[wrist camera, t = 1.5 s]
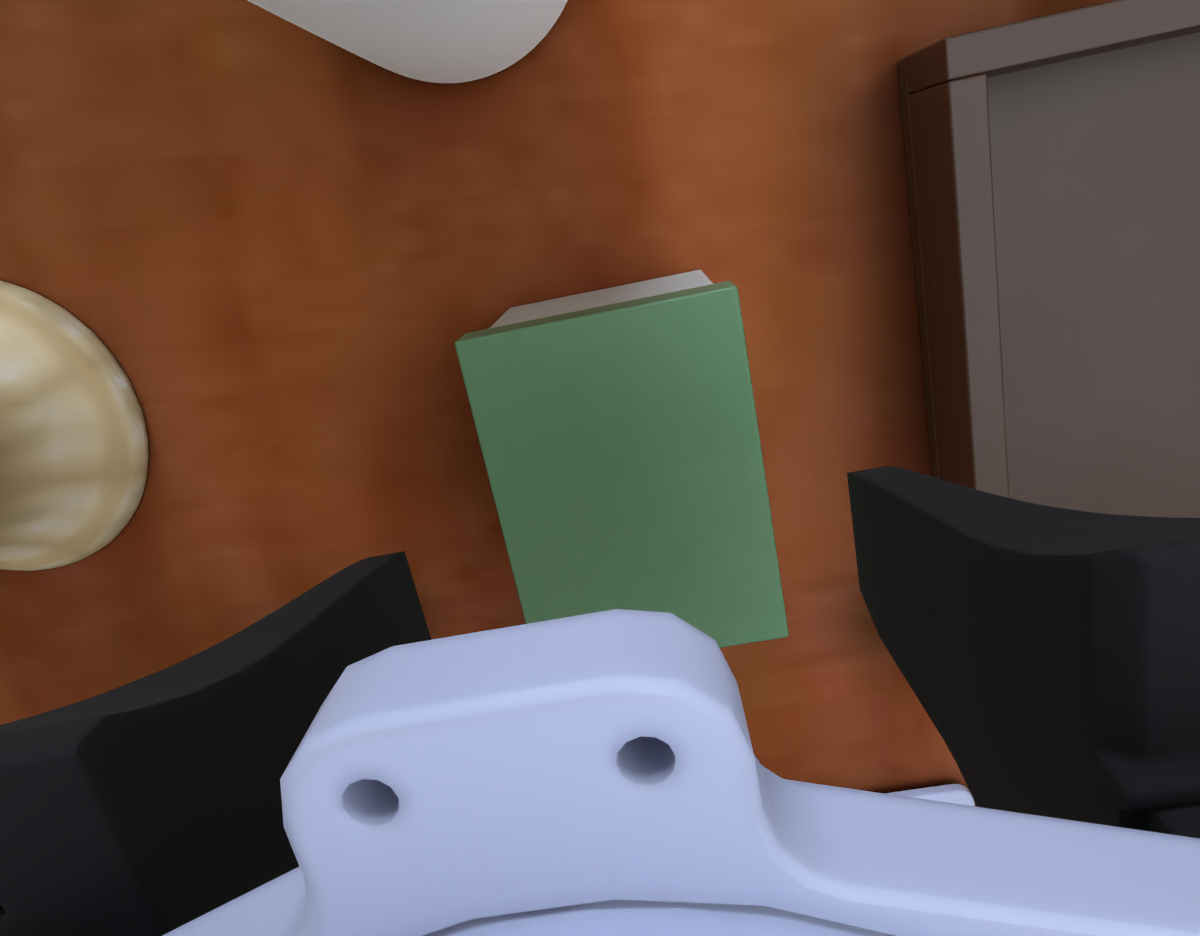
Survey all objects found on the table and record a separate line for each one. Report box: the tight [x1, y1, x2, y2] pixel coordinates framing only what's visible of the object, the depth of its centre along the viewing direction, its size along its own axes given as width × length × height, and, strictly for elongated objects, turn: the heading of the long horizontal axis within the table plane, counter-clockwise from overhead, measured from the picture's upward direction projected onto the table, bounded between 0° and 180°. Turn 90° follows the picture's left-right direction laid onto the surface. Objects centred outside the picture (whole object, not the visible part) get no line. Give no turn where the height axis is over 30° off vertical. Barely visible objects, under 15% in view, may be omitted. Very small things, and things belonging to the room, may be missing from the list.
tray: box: [898, 0, 1200, 518], centre depth 20 cm, size 17×12×3 cm
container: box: [455, 270, 789, 648], centre depth 20 cm, size 7×5×6 cm
